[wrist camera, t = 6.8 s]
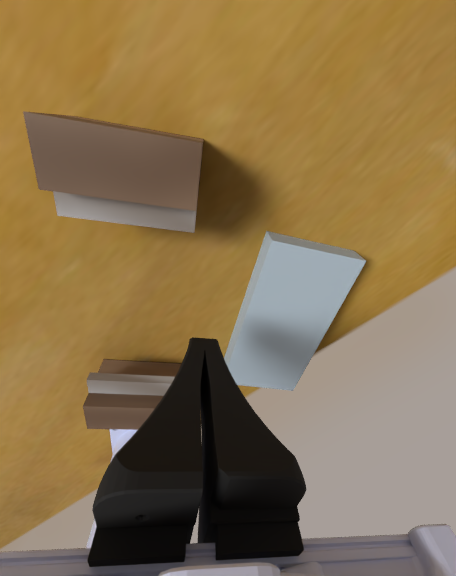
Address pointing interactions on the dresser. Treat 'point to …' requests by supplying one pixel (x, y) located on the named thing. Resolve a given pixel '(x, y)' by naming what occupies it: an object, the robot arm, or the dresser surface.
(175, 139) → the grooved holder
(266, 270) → the cover plate
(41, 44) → the dresser surface
